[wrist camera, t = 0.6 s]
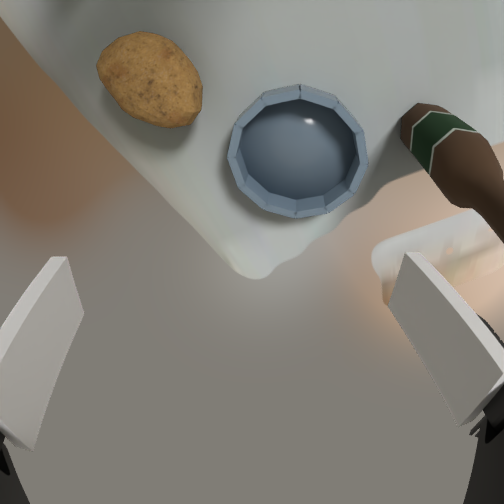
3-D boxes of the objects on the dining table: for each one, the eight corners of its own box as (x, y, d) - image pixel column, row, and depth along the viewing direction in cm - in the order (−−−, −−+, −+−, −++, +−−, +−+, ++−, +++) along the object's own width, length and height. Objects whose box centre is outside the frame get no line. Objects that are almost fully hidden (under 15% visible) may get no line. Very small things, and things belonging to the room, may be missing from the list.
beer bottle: (406, 163, 36) (486, 301, 18) (389, 110, 32) (489, 221, 14) (454, 147, 33) (557, 269, 15) (441, 93, 29) (571, 188, 11)
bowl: (218, 104, 35) (210, 112, 32) (348, 75, 30) (354, 80, 27) (255, 210, 44) (251, 226, 41) (367, 191, 40) (372, 206, 37)
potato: (181, 134, 38) (158, 158, 32) (108, 71, 32) (73, 84, 26) (232, 83, 33) (217, 96, 27) (152, 14, 27) (120, 14, 21)
